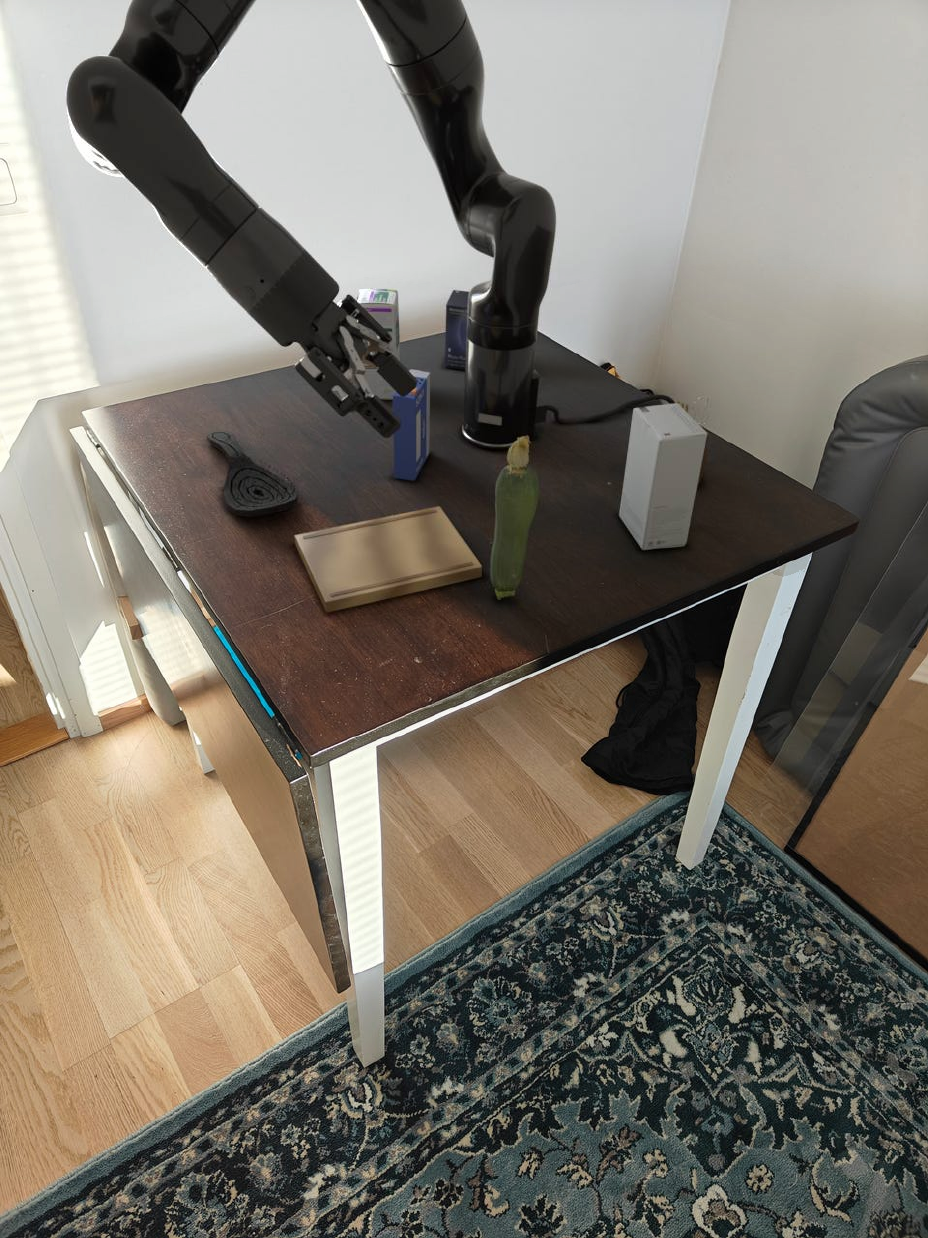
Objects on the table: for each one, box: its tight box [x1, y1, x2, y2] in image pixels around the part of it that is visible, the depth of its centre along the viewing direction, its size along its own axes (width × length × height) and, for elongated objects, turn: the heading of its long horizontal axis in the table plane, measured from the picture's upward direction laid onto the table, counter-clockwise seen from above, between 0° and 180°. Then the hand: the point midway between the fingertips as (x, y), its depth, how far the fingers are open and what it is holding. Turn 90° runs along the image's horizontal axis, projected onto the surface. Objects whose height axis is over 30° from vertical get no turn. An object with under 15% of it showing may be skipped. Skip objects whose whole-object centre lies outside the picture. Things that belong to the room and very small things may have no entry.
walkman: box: [392, 368, 431, 482], centre depth 112 cm, size 8×3×12 cm, turn 167°
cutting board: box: [294, 505, 483, 614], centre depth 99 cm, size 18×13×2 cm
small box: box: [444, 289, 470, 371], centre depth 137 cm, size 11×6×10 cm, turn 80°
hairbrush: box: [206, 430, 299, 518], centre depth 111 cm, size 8×4×25 cm
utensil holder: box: [676, 396, 712, 484], centre depth 111 cm, size 6×6×12 cm
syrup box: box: [355, 288, 401, 400], centre depth 127 cm, size 6×6×14 cm
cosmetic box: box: [618, 402, 709, 551], centre depth 101 cm, size 8×6×15 cm
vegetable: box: [489, 436, 540, 601], centre depth 89 cm, size 4×4×20 cm
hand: (403, 409), depth 83 cm, fingers open, 8 cm apart
